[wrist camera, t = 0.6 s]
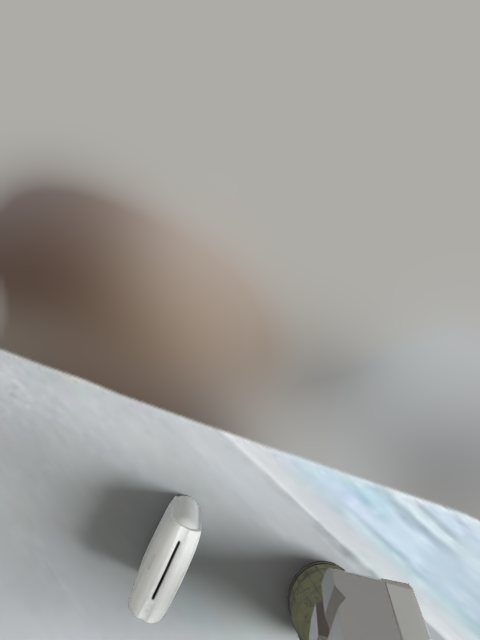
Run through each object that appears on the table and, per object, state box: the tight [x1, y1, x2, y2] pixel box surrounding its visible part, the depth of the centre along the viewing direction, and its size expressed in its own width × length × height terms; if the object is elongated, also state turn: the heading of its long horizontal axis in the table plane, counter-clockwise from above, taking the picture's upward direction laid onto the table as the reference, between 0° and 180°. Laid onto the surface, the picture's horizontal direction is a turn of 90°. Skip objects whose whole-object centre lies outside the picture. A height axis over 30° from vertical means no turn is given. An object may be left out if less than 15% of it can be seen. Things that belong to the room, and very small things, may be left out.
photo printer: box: [128, 496, 201, 623], centre depth 50 cm, size 10×4×12 cm, turn 154°
